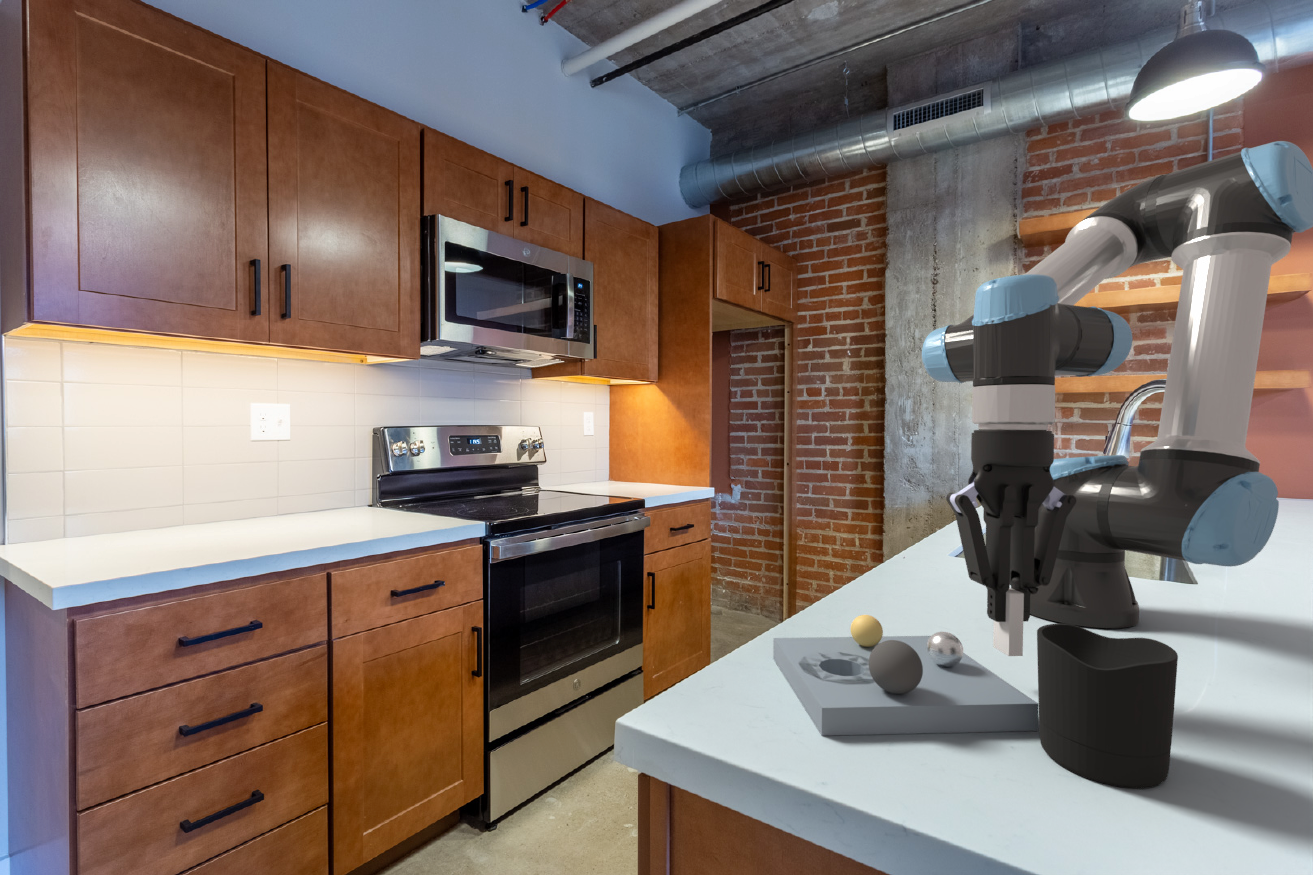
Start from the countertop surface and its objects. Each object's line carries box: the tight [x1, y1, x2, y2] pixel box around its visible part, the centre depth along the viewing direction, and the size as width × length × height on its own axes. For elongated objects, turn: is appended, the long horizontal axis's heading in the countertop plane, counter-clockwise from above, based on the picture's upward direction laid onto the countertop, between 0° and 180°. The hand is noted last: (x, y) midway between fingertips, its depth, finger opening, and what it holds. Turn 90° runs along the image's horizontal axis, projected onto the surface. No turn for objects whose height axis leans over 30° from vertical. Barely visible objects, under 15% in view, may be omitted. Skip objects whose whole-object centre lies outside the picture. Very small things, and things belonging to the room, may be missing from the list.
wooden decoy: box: [850, 614, 884, 647], centre depth 71 cm, size 4×4×4 cm
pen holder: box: [1036, 623, 1179, 789], centre depth 52 cm, size 9×9×10 cm
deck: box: [772, 635, 1039, 736], centre depth 65 cm, size 20×18×2 cm
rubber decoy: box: [869, 640, 923, 694], centre depth 59 cm, size 5×5×5 cm
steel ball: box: [927, 631, 964, 667], centre depth 65 cm, size 4×4×4 cm
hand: (1007, 650), depth 66 cm, fingers closed
